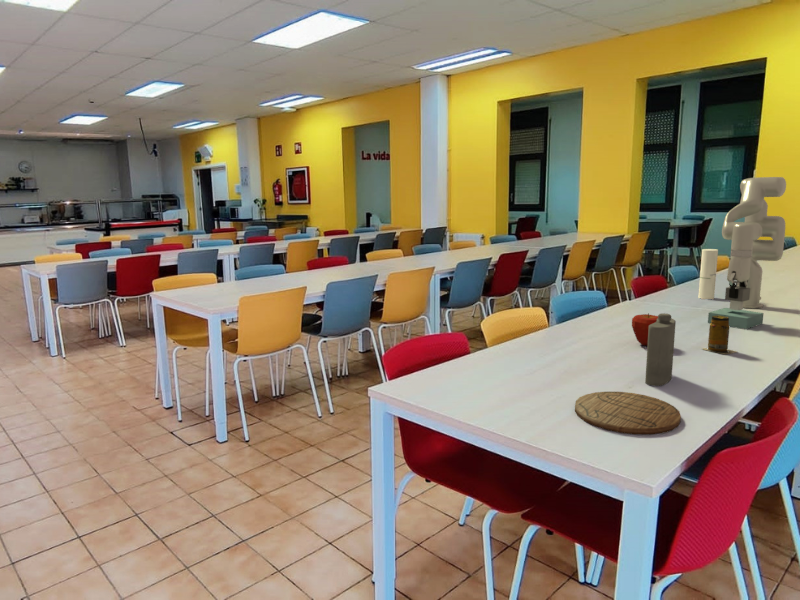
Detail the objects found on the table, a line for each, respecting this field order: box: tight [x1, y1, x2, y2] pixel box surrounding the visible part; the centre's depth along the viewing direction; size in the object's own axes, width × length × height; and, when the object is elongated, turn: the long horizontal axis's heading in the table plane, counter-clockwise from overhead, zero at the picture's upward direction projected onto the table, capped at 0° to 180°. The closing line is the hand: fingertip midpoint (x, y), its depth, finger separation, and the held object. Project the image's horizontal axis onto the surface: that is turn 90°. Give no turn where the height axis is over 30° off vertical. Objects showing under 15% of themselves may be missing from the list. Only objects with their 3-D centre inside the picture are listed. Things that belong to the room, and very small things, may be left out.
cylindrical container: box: [698, 248, 719, 300], centre depth 286 cm, size 7×7×25 cm
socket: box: [707, 307, 764, 330], centre depth 235 cm, size 15×15×4 cm
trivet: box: [574, 391, 682, 436], centre depth 143 cm, size 25×25×2 cm
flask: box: [644, 312, 677, 387], centre depth 167 cm, size 15×6×20 cm, turn 144°
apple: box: [631, 313, 658, 346], centre depth 205 cm, size 11×11×12 cm
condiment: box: [702, 316, 738, 355], centre depth 196 cm, size 7×8×12 cm
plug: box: [724, 286, 750, 310], centre depth 233 cm, size 7×7×9 cm
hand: (737, 296), depth 233 cm, fingers closed on plug, 6 cm apart
